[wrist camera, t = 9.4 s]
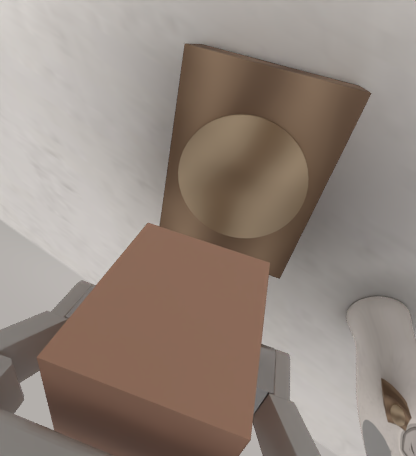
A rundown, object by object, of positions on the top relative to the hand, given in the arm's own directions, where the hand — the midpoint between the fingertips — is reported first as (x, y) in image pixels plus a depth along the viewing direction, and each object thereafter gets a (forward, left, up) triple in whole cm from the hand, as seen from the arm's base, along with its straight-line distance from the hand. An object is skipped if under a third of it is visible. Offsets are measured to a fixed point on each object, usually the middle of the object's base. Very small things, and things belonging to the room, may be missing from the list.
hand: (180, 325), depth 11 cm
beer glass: (-18, +12, -18) cm, 28 cm away
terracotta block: (0, 0, -2) cm, 2 cm away
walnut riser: (0, 0, -18) cm, 18 cm away
